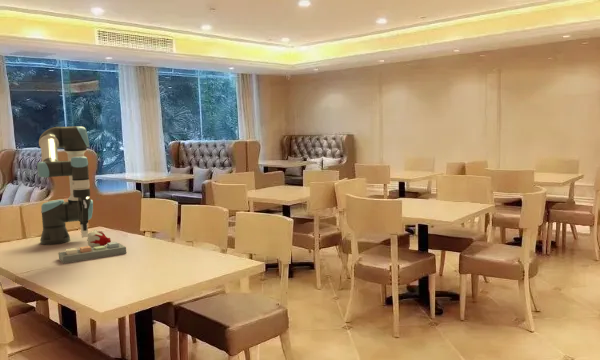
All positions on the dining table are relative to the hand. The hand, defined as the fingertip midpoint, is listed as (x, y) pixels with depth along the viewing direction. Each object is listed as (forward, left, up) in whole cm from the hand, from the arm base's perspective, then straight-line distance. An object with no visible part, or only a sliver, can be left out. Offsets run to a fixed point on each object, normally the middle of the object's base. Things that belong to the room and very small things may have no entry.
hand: (84, 236), depth 247 cm
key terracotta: (0, 0, -8) cm, 8 cm away
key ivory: (0, -7, -8) cm, 10 cm away
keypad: (0, +3, -10) cm, 11 cm away
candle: (-19, +10, -10) cm, 24 cm away
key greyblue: (0, +13, -8) cm, 15 cm away
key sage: (0, +6, -9) cm, 11 cm away
